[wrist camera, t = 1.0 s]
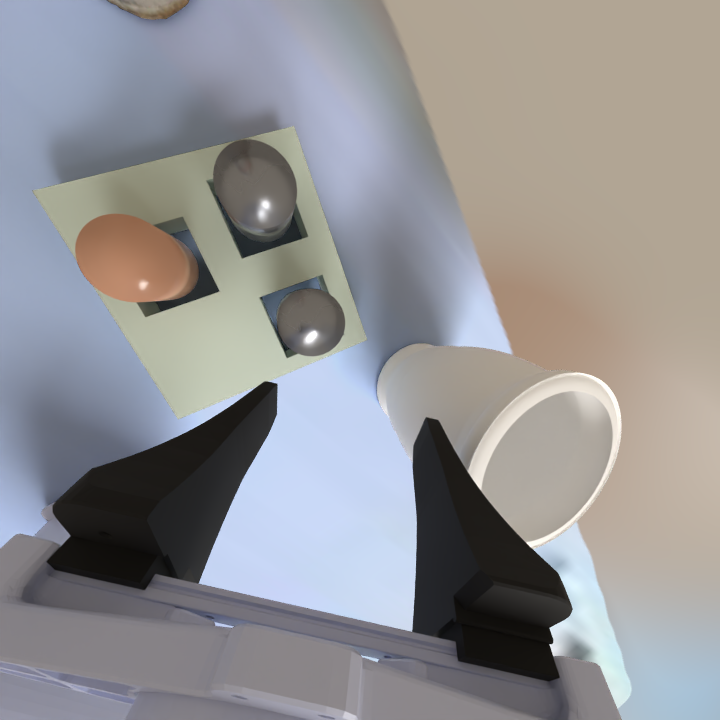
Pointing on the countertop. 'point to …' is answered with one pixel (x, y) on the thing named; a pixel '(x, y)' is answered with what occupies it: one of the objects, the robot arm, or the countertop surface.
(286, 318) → the grey plug
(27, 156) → the countertop surface
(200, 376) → the socket board
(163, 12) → the spray can
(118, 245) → the terracotta plug
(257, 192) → the grey plug
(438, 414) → the jar
